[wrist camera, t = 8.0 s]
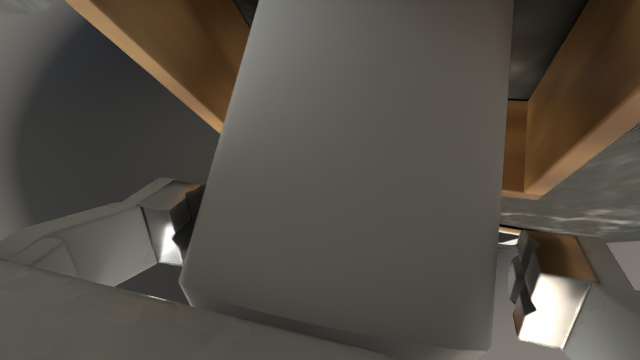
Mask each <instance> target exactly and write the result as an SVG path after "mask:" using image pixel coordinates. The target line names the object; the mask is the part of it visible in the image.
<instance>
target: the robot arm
mask: <svg viewBox="0 0 640 360" xmlns="http://www.w3.org/2000/svg"><path fill="white" fill-rule="evenodd" d="M205 188H206V184H201V183H195V182H189V181H182V180H176V179H169V178H158V179H156V180H155V181H153V182H152V183H151V184H149V185H147V186H146V187H144V188H143V189H141V190H140V191H138V192H137V193H135V194H134V195H132V196H130V197H129V198H127V199H126V200H124V201H123V202H121V203H117V202H116V203H112V204H109V205H105V206H101V207H98V208H94V209H91V210H87V211H84V212H80V213H76V214H73V215H69V216H66V217H62V218H59V219H55V220H51V221H48V222H44V223H41V224H37V225H34V226H30V227H27V228H23V229H20V230H18V231H17V232H15V233H13V234H12V235H10V236H8V237H7V238H4V239H3V240H1V241H0V360H404V359H400V358H396V357H392V356H388V355H384V354H380V353H376V352H372V351H368V350H364V349H360V348H356V347H352V346H348V345H344V344H340V343H336V342H333V341H329V340H325V339H321V338H317V337H313V336H309V335H305V334H300V333H296V332H292V331H288V330H284V329H280V328H276V327H272V326H268V325H264V324H260V323H256V322H252V321H248V320H244V319H240V318H236V317H232V316H228V315H224V314H220V313H216V312H212V311H208V310H204V309H200V308H196V307H192V306H188V305H184V304H180V303H176V302H172V301H168V300H164V299H160V298H155V297H152V296H148V295H144V294H140V293H136V292H132V291H128V290H124V289H120V288H116V287H114V286H115V285H118V284H119V283H121V282H123V281H125V280H126V279H129V278H131V277H133V276H134V275H136V274H138V273H140V272H142V271H144V270H146V269H148V268H150V267H151V266H153V265H155V264H157V262H161V263H166V264H171V265H178V266H182V267H183V265H184V261H185V258H186V254H187V251H188V247H189V244H190V240H191V237H192V233H193V230H194V226H195V223H196V219H197V216H198V212H199V209H200V205H201V202H202V198H203V195H204V191H205ZM516 245H517V249H518V253H519V255H518V256H517V257H515V258H513V259H512V262H511V266H510V270H509V279H508V291H509V297H510V300H511V301H512V302H513V303H514V304H515V305H516V306H515V309H514V312H513V318H514V323H515V328H516V333H517V338H518V339H520V340H524V341H528V342H532V343H537V344H540V345H545V346H548V347H553V348H557V349H561V350H563V352H564V354H565V355H566V356H567V357H568V358H569V359H570V360H640V291H638V290H635V289H634V288H633V286H632V285H631V283H630V281H629V280H628V278H627V277H626V275H625V273H624V272H623V270H622V268H621V267H620V265H619V264H618V262H617V260H616V259H615V257H614V256H613V254H612V252H611V251H610V249H609V248H608V246H607V244H606V243H605V241H604V240H602V239H600V238H595V237H585V236H576V235H566V234H558V233H549V232H541V231H532V230H524V229H522V230H521V232H520V234H519V237H518V240H517V244H516Z"/></svg>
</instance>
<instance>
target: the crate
mask: <svg viewBox="0 0 640 360" xmlns="http://www.w3.org/2000/svg"><path fill="white" fill-rule="evenodd" d="M65 1H66V2H67V3H68V4H69V5H71V6H72V7H73V8H74V9H75V10H76V11H78V12H79V13H80V14H81V15H82V16H83V17H85V18H86V19H87V20H88V21H89V22H90V23H92V24H93V25H94V26H95V27H96V28H97V29H99V30H100V31H101V32H102V33H103V34H104V35H106V36H107V37H108V38H109V39H110V40H112V41H113V42H114V43H115V44H116V45H117V46H118V47H120V48H121V49H122V50H123V51H124V52H125V53H127V54H128V55H129V56H130V57H131V58H132V59H134V60H135V61H136V62H137V63H138V64H139V65H141V66H142V67H143V68H144V69H145V70H147V71H148V72H149V73H150V74H151V75H152V76H154V77H155V78H156V79H157V80H158V81H159V82H160V83H162V84H163V85H164V86H165V87H166V88H168V89H169V90H170V91H171V92H172V93H173V94H174V95H176V96H177V97H178V98H179V99H180V100H182V101H183V102H184V103H185V104H186V105H187V106H189V107H190V108H191V109H192V110H193V111H194V112H196V113H197V114H198V115H199V116H200V117H202V118H203V119H204V120H205V121H206V122H207V123H208V124H210V125H211V126H212V127H213V128H214V129H216V130H217V131H218V132H219V133H220V134H221V132H222V128H223V125H224V121H225V118H226V114H227V111H228V107H229V104H230V100H231V97H232V93H233V90H234V86H235V83H236V79H237V76H238V72H239V69H240V65H241V62H242V58H243V55H244V51H245V48H246V44H247V41H248V37H249V34H250V28H249V27H248V25H247V23H246V22H245V20H244V18H243V17H242V15H241V13H240V12H239V10H238V8H237V7H236V5H235V3H234V2H233V0H65ZM639 122H640V0H589V1H588V3H587V4H586V6H585V8H584V9H583V11H582V12H581V14H580V16H579V17H578V19H577V21H576V22H575V24H574V26H573V27H572V29H571V31H570V32H569V34H568V36H567V37H566V39H565V41H564V42H563V44H562V46H561V47H560V49H559V51H558V52H557V54H556V56H555V57H554V59H553V61H552V62H551V64H550V66H549V67H548V69H547V71H546V72H545V74H544V76H543V77H542V79H541V81H540V82H539V84H538V86H537V87H536V89H535V91H534V92H533V94H532V95H531V97H530V99H529V100H528V101H516V100H508V102H507V117H506V132H505V147H504V162H503V177H502V192H501V196H507V197H516V198H524V199H533V200H538V199H539V198H541V197H542V196H543V195H544V194H546V193H547V192H548V191H550V190H551V189H552V188H554V187H555V186H556V185H558V184H559V183H560V182H562V181H563V180H564V179H566V178H567V177H568V176H569V175H571V174H572V173H573V172H575V171H576V170H577V169H579V168H580V167H581V166H583V165H584V164H585V163H587V162H588V161H589V160H591V159H592V158H593V157H594V156H596V155H597V154H598V153H600V152H601V151H602V150H604V149H605V148H606V147H608V146H609V145H610V144H612V143H613V142H614V141H615V140H617V139H618V138H619V137H621V136H622V135H623V134H625V133H626V132H627V131H629V130H630V129H631V128H633V127H634V126H635V125H637V124H638V123H639Z"/></svg>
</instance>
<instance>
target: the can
mask: <svg viewBox="0 0 640 360" xmlns="http://www.w3.org/2000/svg"><path fill="white" fill-rule="evenodd" d="M513 12H514V0H259V2H258V6H257V9H256V13H255V16H254V20H253V23H252V27H251V30H250V34H249V37H248V41H247V44H246V48H245V51H244V55H243V58H242V62H241V65H240V69H239V72H238V76H237V79H236V83H235V86H234V90H233V93H232V97H231V100H230V104H229V107H228V111H227V114H226V118H225V121H224V125H223V128H222V132H221V135H220V139H219V143H218V146H217V149H216V153H215V156H214V160H213V163H212V167H211V170H210V174H209V177H208V181H207V184H206V188H205V191H204V195H203V198H202V202H201V205H200V209H199V212H198V216H197V219H196V223H195V226H194V230H193V233H192V237H191V240H190V244H189V247H188V251H187V254H186V258H185V261H184V265H183V268H182V272H181V275H180V279H179V284H180V286H181V288H182V290H183V292H184V294H185V295H186V297H187V299H188V301H189V303H190V305H191V306H192V307H196V308H200V309H204V310H208V311H212V312H216V313H220V314H224V315H228V316H232V317H236V318H240V319H244V320H248V321H252V322H256V323H260V324H264V325H268V326H272V327H276V328H280V329H284V330H288V331H292V332H296V333H300V334H305V335H309V336H313V337H317V338H321V339H325V340H329V341H333V342H336V343H340V344H344V345H348V346H352V347H356V348H360V349H364V350H368V351H372V352H376V353H380V354H384V355H388V356H392V357H396V358H400V359H404V360H477V359H478V358H480V357H481V356H482V355H483V354H484V353H485V352H487V351H488V350H489V349H490V347H491V342H492V328H493V313H494V298H495V282H496V268H497V253H498V237H499V222H500V207H501V192H502V177H503V162H504V147H505V132H506V117H507V102H508V87H509V72H510V57H511V42H512V27H513Z"/></svg>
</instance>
